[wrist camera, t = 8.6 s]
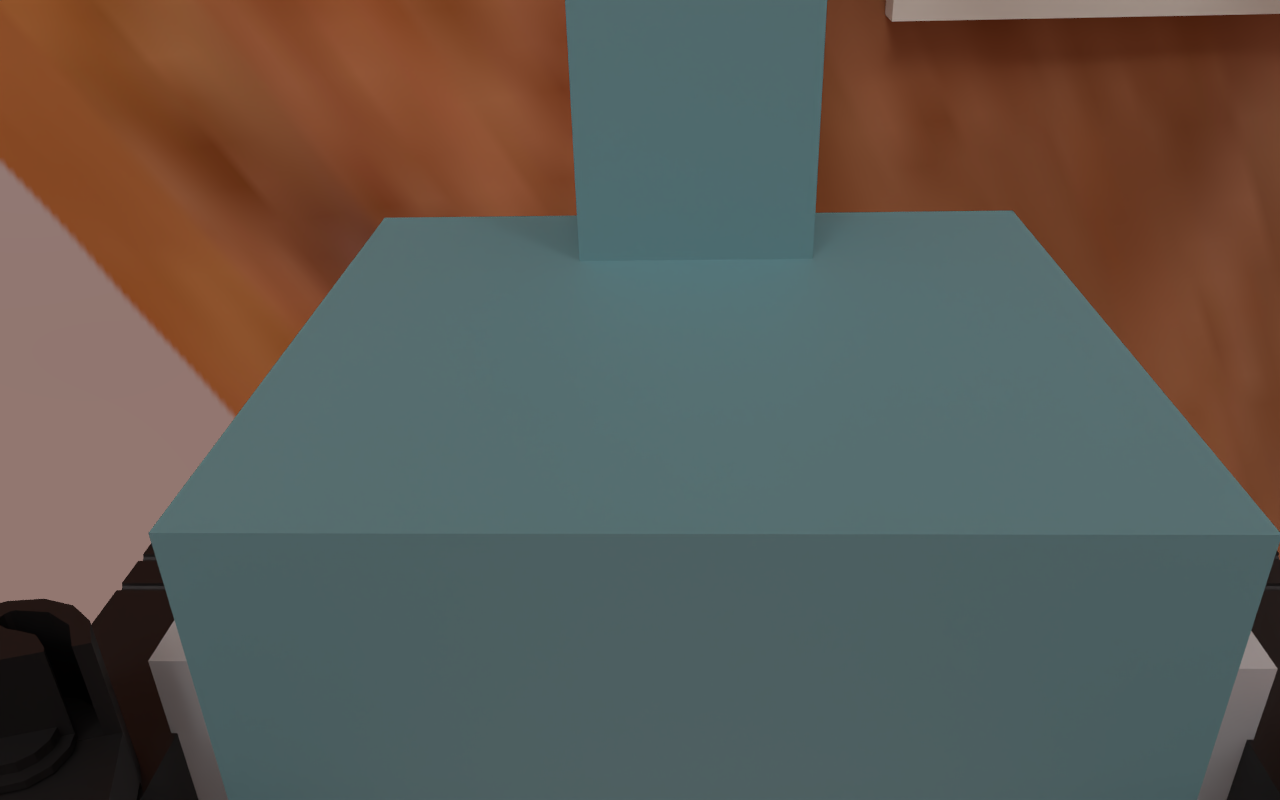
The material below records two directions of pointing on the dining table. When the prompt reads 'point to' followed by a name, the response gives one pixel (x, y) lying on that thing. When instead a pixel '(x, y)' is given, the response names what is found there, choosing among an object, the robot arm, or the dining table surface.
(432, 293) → the teal cube with tabs
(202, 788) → the robot arm
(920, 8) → the white and grey stand
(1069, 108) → the dining table surface
